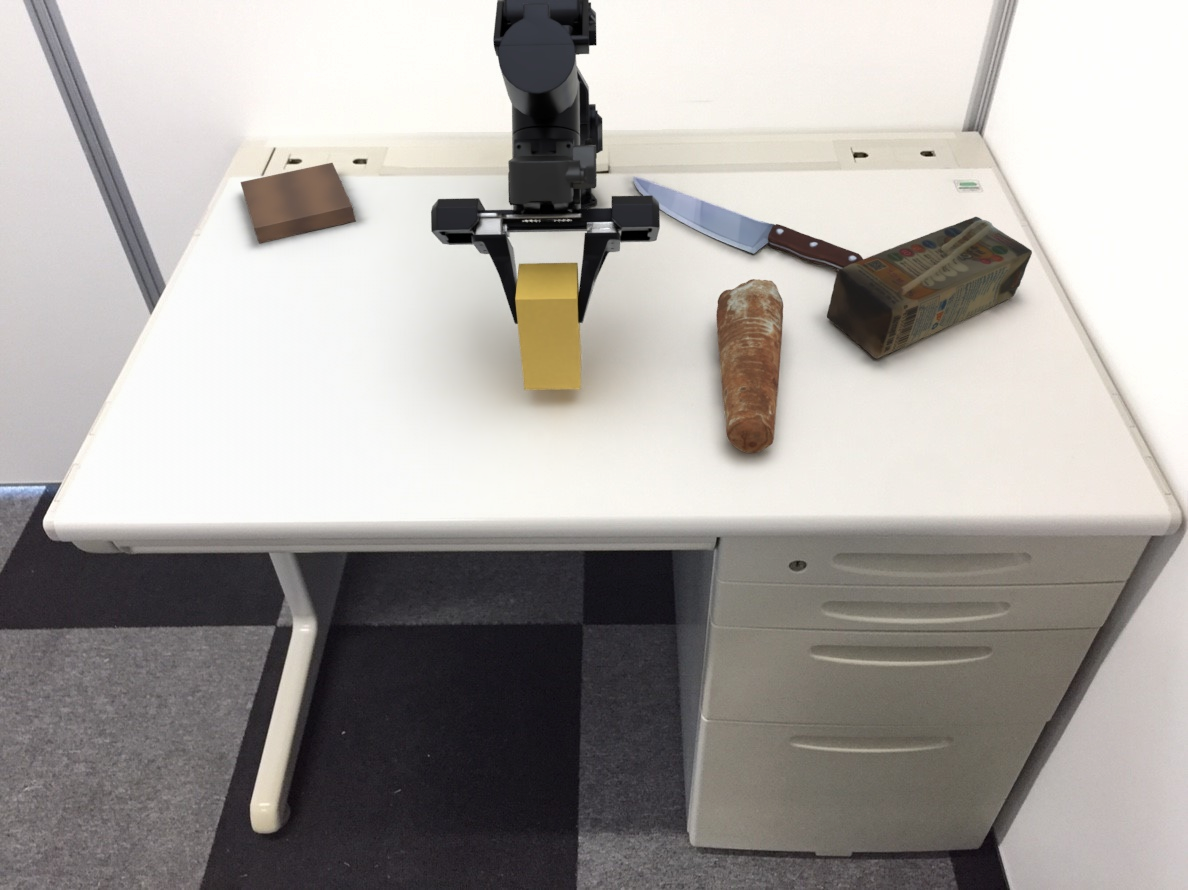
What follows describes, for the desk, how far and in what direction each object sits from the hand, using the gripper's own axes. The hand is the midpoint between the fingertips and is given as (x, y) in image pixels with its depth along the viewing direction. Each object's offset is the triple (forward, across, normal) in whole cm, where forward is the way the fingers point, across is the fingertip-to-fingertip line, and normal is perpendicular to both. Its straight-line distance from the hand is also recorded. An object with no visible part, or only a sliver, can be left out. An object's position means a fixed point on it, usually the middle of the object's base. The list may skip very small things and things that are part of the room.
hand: (548, 323), depth 77 cm
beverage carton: (-2, +36, +15) cm, 40 cm away
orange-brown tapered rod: (+5, +18, +8) cm, 21 cm away
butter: (+4, 0, +6) cm, 7 cm away
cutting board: (-17, -31, +30) cm, 47 cm away
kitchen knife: (-13, +20, +27) cm, 36 cm away
